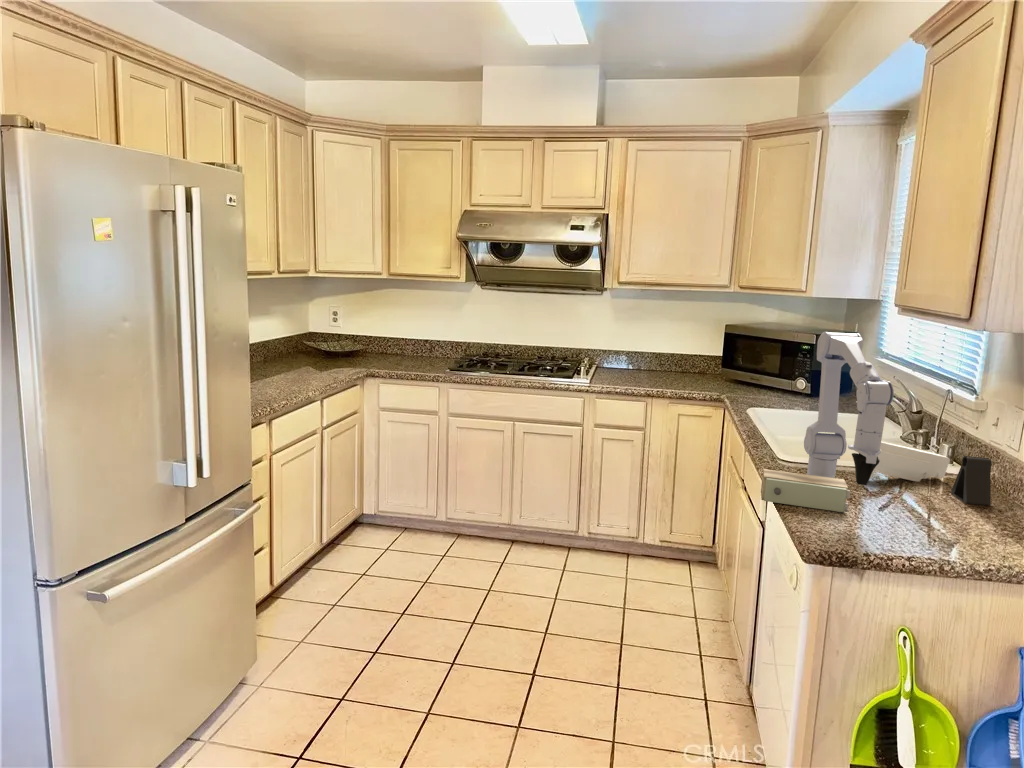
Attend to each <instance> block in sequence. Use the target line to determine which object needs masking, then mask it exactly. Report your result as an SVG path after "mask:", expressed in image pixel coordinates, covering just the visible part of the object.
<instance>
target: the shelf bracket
mask: <svg viewBox="0 0 1024 768" xmlns="http://www.w3.org/2000/svg"><path fill="white" fill-rule="evenodd" d="M880 449H881V453H880V454H879V455H878V459H879V460H880V462H879V464H878V465H877V466H876V467H875V468H874V470H873V472H872V474H871V476H870V479H872V477H874V473H876V472H877V473H880V474H882V475H887V476H891V477H894V478H899V479H903V480H908V481H913V482H921V481H922V479H925V480H927V479H929V478H930V477H933V478H939V479H943V478H944V477H945V475H946V472H947V469H948V466H949V464H950V461H951V459H950V458H949V457H947V456H945V455H942V454H939V453H935V452H930V451H925V450H923V449H917V448H912V447H908V446H904V445H898V444H894V443H889V442H885V441H881V447H880Z"/></svg>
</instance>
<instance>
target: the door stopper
mask: <svg viewBox="0 0 1024 768" xmlns="http://www.w3.org/2000/svg"><path fill="white" fill-rule="evenodd" d="M991 469H992V459H991V458H990V457H981V456H980V457H979V456H966V455H964V456H963V457H962V459H961V465H960V468H959V471H958V473H957V476H956V477H955V480H954V483H953V485H952V487H951V491H950V493H951V494H952V495H953V496H955V497H956V498H958V500H960V501H961V502H963V503H964V504H967V505H980V506H988V507H990V506H991V505H992V503H991V500H992V499H991V491H992V489H991V488H992V487H991Z"/></svg>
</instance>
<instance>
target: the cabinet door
mask: <svg viewBox="0 0 1024 768" xmlns="http://www.w3.org/2000/svg"><path fill="white" fill-rule="evenodd" d="M850 495H851V490H850V489H848V490H847V489H845V488H838V487H830V486H823V485H815V484H808V483H800V482H793V481H785V480H778V479H770V478H767V479H766V488H765V496H764V500H763V501H764V502H768V503H769V502H771V503H776V504H781V505H782V504H784V505H788V506H789V505H791V506H798V507H805V508H811V509H817V510H825V511H826V510H827V511H832V512H833V511H834V512H839V513H844V512H847V513H848V510H849V502H846V503H845V499H846V500H849V499H850Z"/></svg>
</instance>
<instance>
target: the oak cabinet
mask: <svg viewBox="0 0 1024 768" xmlns="http://www.w3.org/2000/svg"><path fill="white" fill-rule="evenodd" d="M767 478H770V479H778V480H785V481H793V482H800V483H808V484H815V485H823V486H830V487H838V488H845V489H847V490H849V489H848V488H849V487H848V485H847V483H846V480H845V479H844V478H838V477H836V478H830V477H822V476H814V475H807V473H798V472H796V473H795V472H790V471H789V472H788V471H782V470H775V469H766V468H763V469H762V478H761V488H760V499H761V500H762V501H764V496H765V488H766V479H767ZM845 503H847V499H845Z"/></svg>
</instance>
